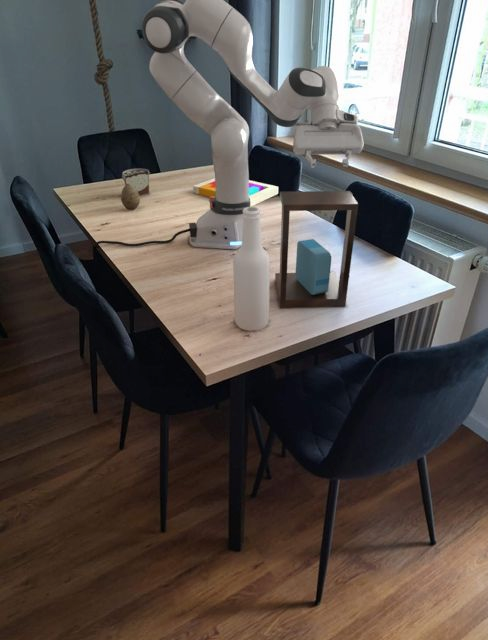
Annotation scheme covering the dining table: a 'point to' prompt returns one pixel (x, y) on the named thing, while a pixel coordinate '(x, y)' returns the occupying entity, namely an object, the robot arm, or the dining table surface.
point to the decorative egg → (130, 197)
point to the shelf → (294, 291)
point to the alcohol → (251, 275)
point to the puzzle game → (256, 190)
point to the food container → (137, 180)
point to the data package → (313, 266)
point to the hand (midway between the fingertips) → (329, 166)
